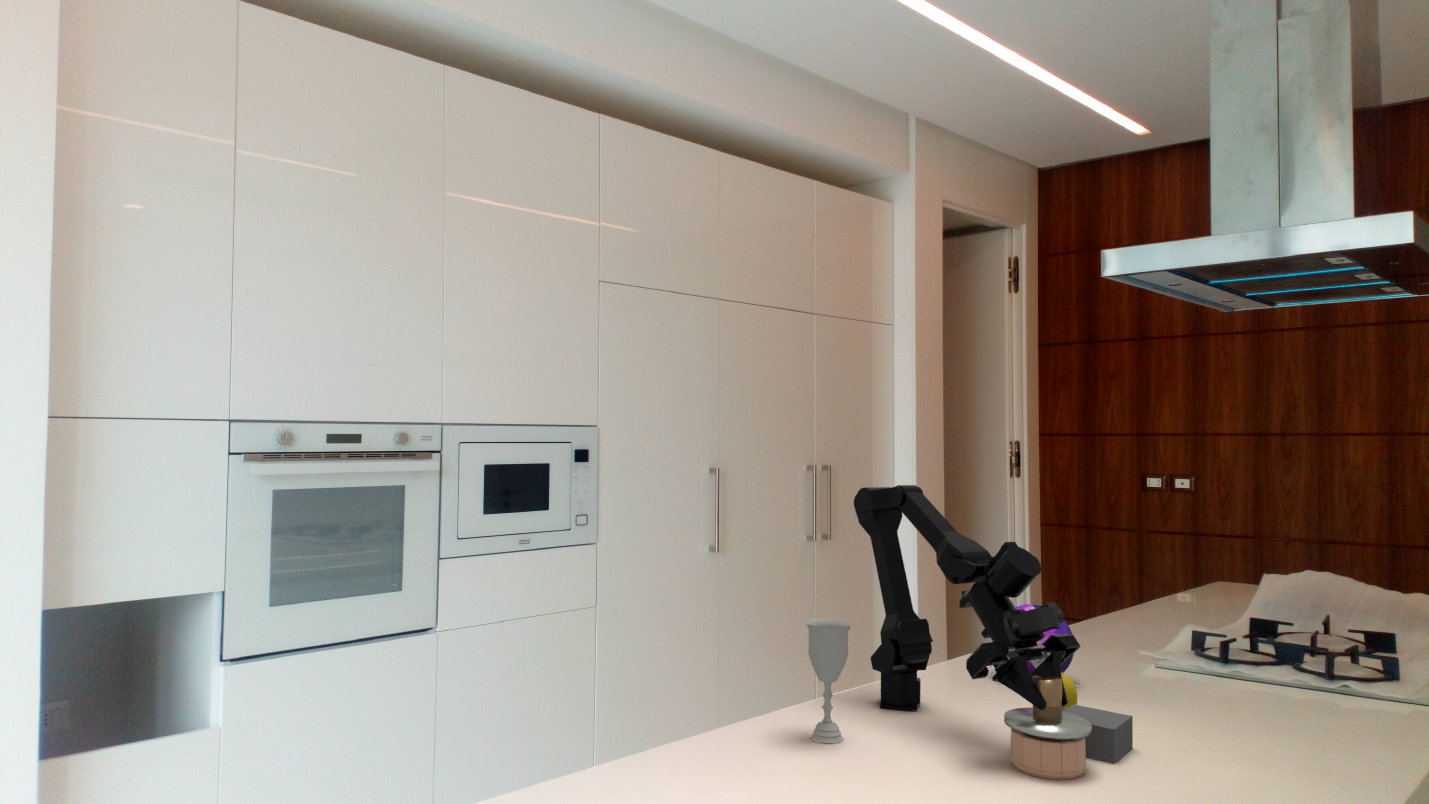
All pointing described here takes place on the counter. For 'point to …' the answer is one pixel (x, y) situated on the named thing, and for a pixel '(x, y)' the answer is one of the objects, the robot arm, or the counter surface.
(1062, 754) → the bowl
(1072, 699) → the lemon
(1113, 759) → the block
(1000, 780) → the counter surface
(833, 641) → the chalice
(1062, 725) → the lid
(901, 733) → the counter surface
